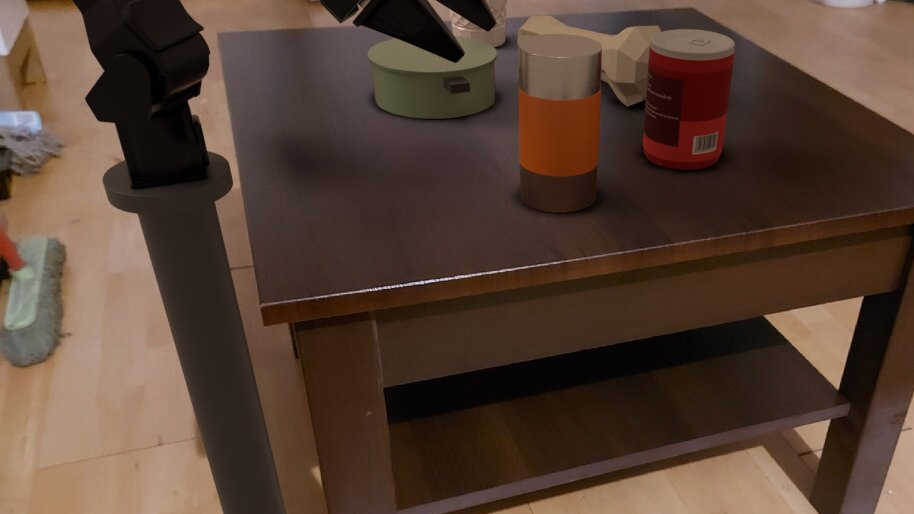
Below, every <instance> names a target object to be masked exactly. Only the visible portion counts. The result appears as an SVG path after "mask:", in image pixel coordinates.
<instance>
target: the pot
mask: <svg viewBox="0 0 914 514" xmlns="http://www.w3.org/2000/svg"><path fill="white" fill-rule="evenodd" d="M455 38H456V39H457V41H458V42H459V44H460V45H461V47H462V48H463V50H464V51H465V55H464V56H463V57H462V58H461V59H460V60H459V61H458V62H457V63H453V62H451V61H449V60H446V59H444V58H442V57H439V56H437V55H435V54H432V53H430V52H428V51H425V50H423V49H421V48H418V47H416V46H414V45H411V44H409V43H406V42H404V41H401V40H399V39H396V38H391V39H386V40H384V41H380V42H379V43H376V44H375V45H373V46H371V47H370V48H369V49H368V51H367V53H366V55H367V61H369V63H370V64H371V65H370V66H371V73H372V83H373V93H374V101H375V104H376V105H377V106H378V107H379V108H380V109H381V110H383V111H385V112H387V113H389V114H393V115H397V116H401V117H406V118H412V119H422V120H423V119H425V120H441V119H442V120H443V119H453V118H460V117H466V116H470V115H474V114H477V113H480V112H483V111H485V110H487V109H489V108H490V107H492V105H493V104H494V103H495V102H496V67H495V66H496V65H495V62H496V60H497V58H498V51H497V49H496V47H493V46H491V45H490V44H488V43H485V42H483V41H480V40H476V39H472V38H467V37H461V36H455Z"/></svg>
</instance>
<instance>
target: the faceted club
mask: <svg viewBox="0 0 914 514" xmlns="http://www.w3.org/2000/svg"><path fill="white" fill-rule="evenodd" d="M660 32H662V30H661V28H660V26H659V25H634V26H630V27H629V26H628V27H626V28H624V29H622V31H620V32H619V33H618V34H607V33H602V32H597V31H593V30H589V29H583V28H579V27H574V26H570V25H566V24H564V23H563V22H561V21H560V20H558V19H557V18H555V17H553V16H552V15H531V16H530V17H529V18H528V19H527V20H526V22H524V24H522V26H521V27H520V28H519V29H518V33H517V41H516V42H517V43H516V44H517V45H519V42H520V41H521V40H523V39H525V38H528V37H531V36H536V35H543V34H570V35H578V36H583V37H587V38H590V39H593V40H595V41H597V42H599V43H600V44H601V46H602V64H601V81H603V82H605V83H607V84H608V85H609V86H610V88H611V90H612V91H613V93H614V94H615V96H616V98H617V99H618V100H619V101H620V102H621V103H622V104H623V105H624V106H626V107H628V108H629V107H630V106H633V105H635V104H637V103H640V102H646V90H647V74H648V59H649V48H650V43H651V37H652V36H653V35H655V34H657V33H660Z"/></svg>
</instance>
